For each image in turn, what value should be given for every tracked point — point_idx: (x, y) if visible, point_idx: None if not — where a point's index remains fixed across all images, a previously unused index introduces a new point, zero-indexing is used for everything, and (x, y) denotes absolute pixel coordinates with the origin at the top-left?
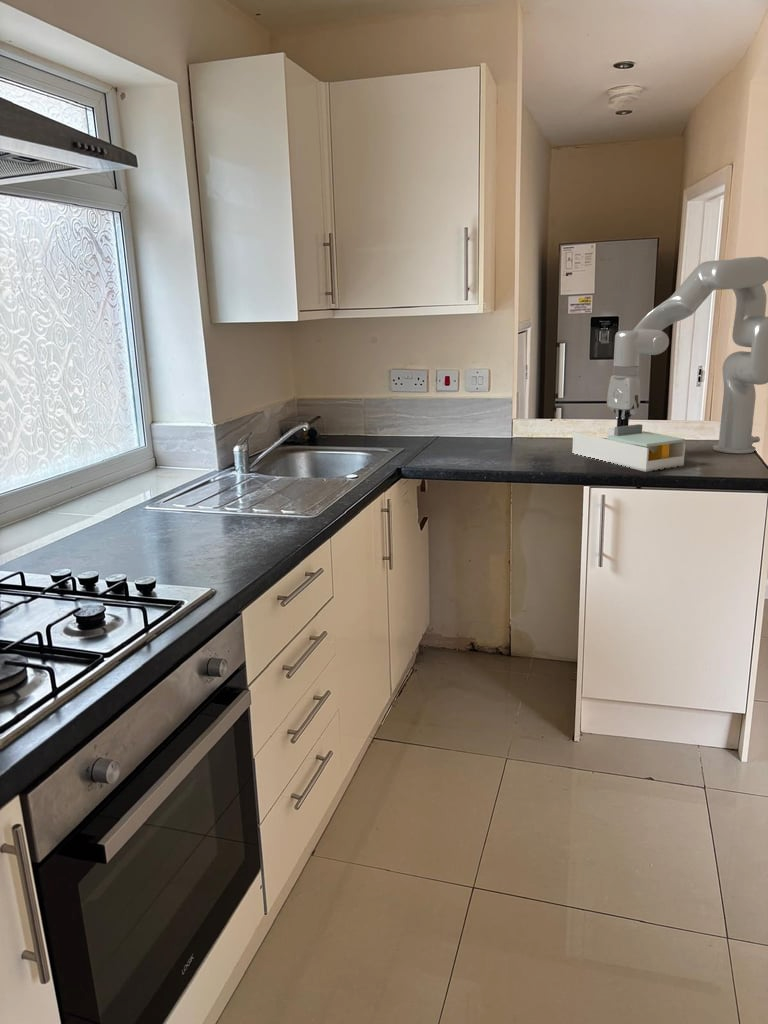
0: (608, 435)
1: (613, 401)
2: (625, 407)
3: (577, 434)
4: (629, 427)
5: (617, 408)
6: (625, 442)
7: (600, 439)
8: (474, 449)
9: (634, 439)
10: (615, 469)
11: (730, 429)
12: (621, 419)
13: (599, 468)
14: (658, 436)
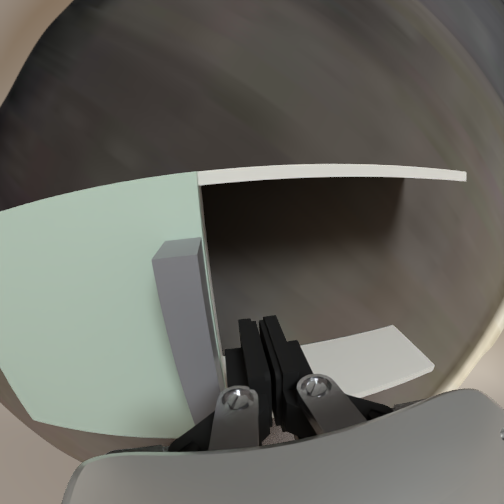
0: (414, 351)
1: (422, 485)
2: (113, 475)
3: (442, 169)
4: (179, 368)
5: (294, 442)
6: (324, 367)
7: (267, 166)
8: (494, 32)
9: (31, 256)
10: (76, 127)
11: None
12: (248, 382)
13: (118, 79)
14: (85, 402)
